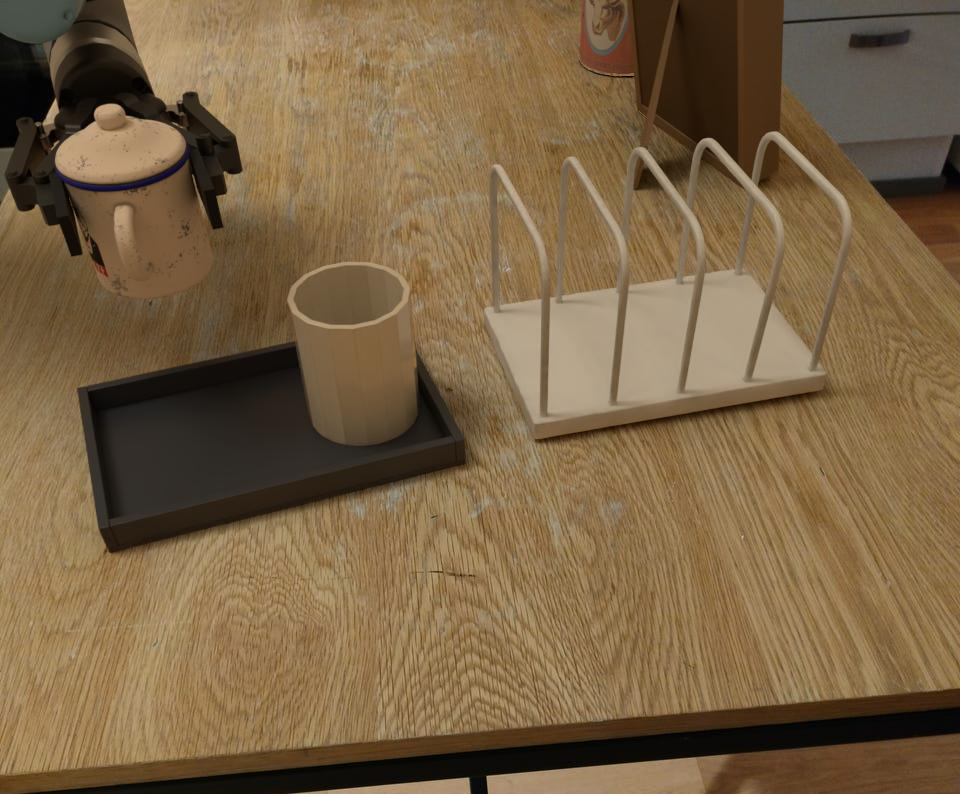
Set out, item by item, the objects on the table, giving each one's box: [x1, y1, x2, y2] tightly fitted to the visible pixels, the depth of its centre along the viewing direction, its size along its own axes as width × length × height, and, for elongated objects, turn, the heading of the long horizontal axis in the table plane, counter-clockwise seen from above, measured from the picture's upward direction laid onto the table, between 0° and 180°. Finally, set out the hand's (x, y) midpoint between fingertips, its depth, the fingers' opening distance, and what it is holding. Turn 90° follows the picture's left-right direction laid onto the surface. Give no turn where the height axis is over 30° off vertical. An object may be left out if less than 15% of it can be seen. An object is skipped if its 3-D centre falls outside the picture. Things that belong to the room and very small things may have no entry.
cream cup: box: [286, 261, 420, 446], centre depth 75 cm, size 9×9×11 cm
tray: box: [76, 340, 467, 553], centre depth 77 cm, size 28×18×2 cm, turn 110°
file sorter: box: [483, 131, 853, 440], centre depth 78 cm, size 25×17×16 cm
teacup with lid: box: [55, 104, 214, 300], centre depth 68 cm, size 12×9×12 cm
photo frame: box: [627, 0, 785, 190], centre depth 98 cm, size 15×22×25 cm
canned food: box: [578, 0, 634, 74], centre depth 120 cm, size 11×11×12 cm
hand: (143, 222), depth 65 cm, fingers closed on teacup with lid, 9 cm apart
